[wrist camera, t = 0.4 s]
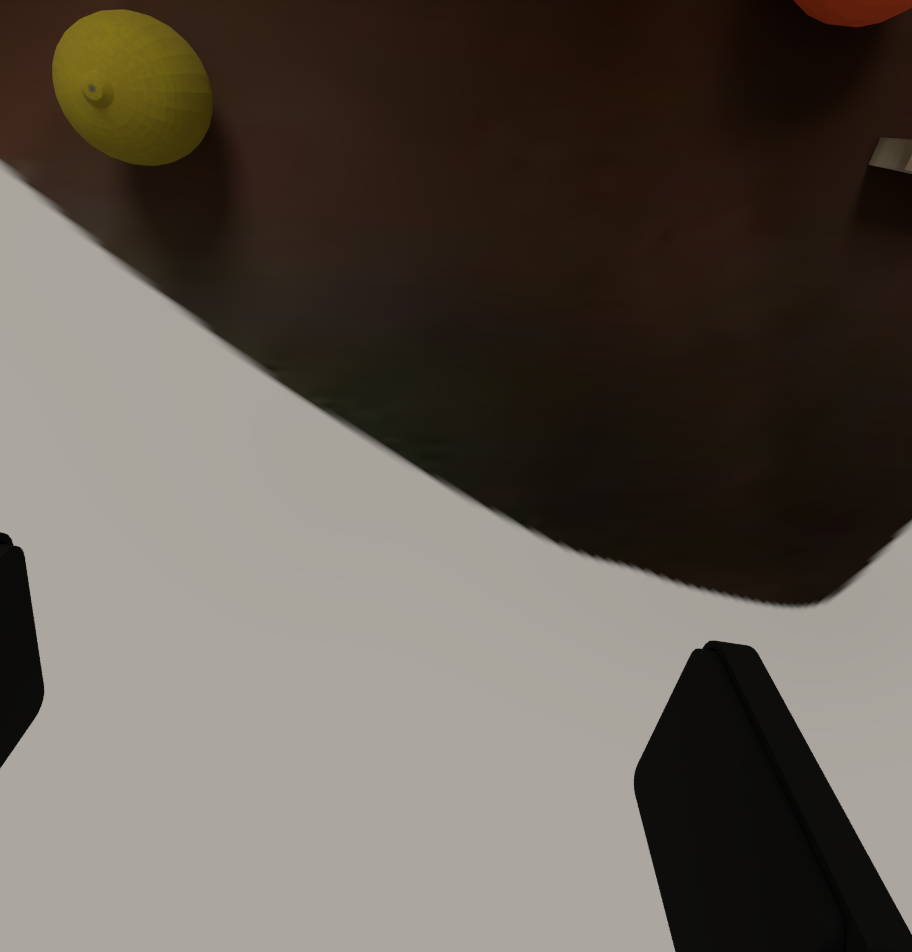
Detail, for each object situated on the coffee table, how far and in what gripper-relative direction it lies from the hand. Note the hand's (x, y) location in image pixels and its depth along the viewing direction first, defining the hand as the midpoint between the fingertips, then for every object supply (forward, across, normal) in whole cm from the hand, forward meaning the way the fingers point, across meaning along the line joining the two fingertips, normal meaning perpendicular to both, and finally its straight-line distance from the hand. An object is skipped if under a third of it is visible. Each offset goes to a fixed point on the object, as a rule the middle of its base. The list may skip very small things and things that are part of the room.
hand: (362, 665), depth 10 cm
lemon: (+29, +13, -5) cm, 32 cm away
